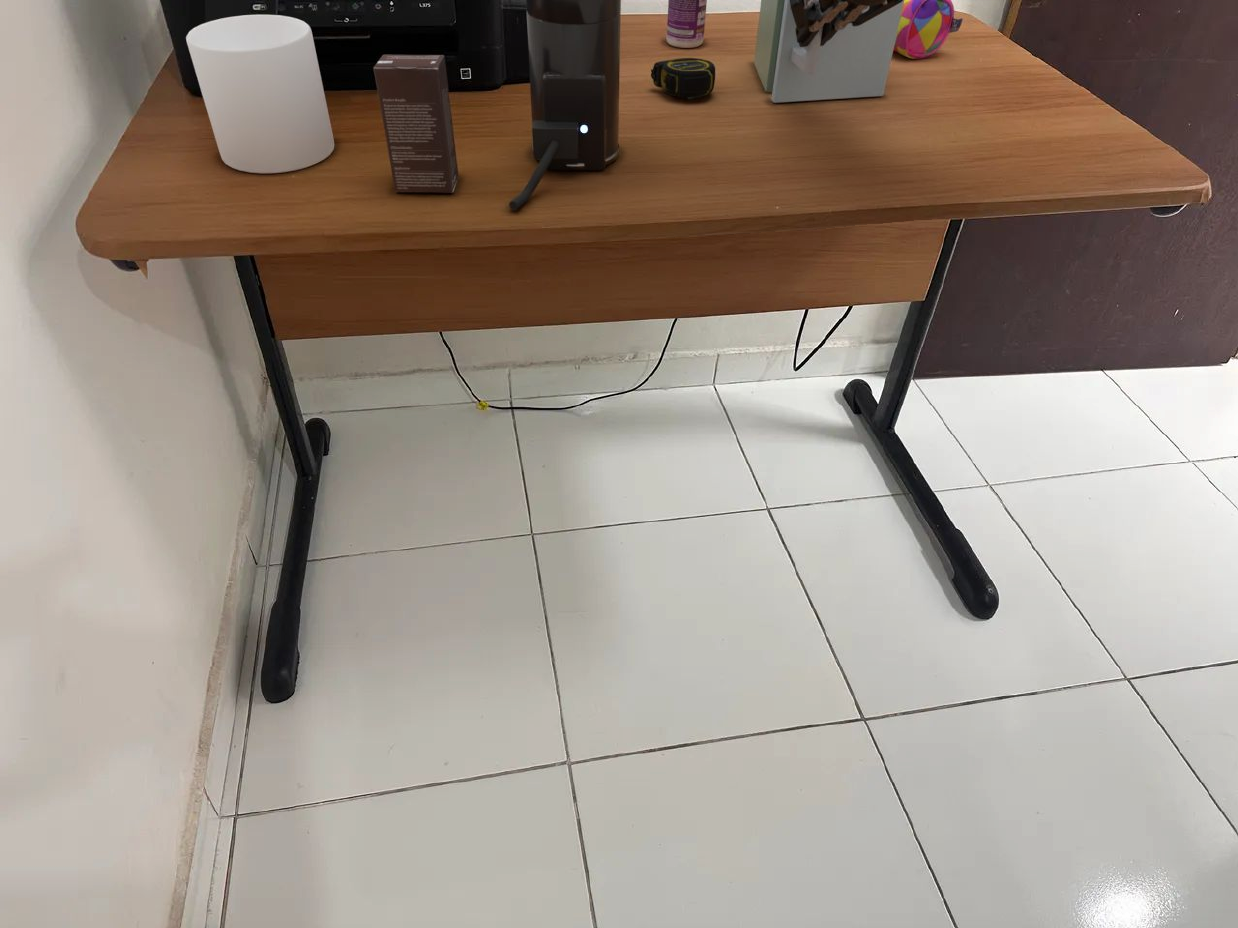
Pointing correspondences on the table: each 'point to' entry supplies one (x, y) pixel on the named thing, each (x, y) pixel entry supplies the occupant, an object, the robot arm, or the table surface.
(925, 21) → the colorful pencil case
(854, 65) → the cabinet door
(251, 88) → the white cylinder
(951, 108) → the table surface
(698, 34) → the pill bottle
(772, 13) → the cabinet
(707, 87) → the tape measure
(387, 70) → the box
